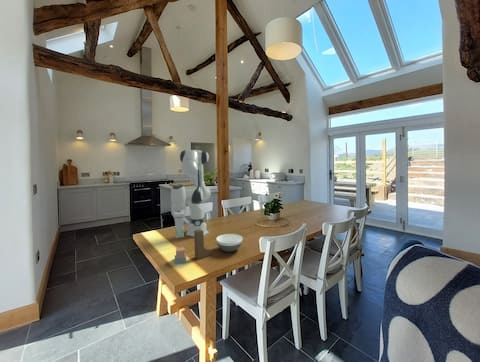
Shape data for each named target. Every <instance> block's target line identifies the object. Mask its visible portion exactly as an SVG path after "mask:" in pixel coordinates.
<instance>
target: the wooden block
mask: <svg viewBox="0 0 480 362" xmlns="http://www.w3.org/2000/svg"><path fill="white" fill-rule="evenodd" d="M204 236H205V235H204V234H203V230H201V229H199V230H195V231H194V238H193V240H194V258H196V259H197V260H200V259H204V258H206V257H208V256H209V257H210V256H211V249H210V248H209V247H206V246H205V241H204V240H205V239H204Z"/></svg>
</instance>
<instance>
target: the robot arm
mask: <svg viewBox="0 0 480 362" xmlns="http://www.w3.org/2000/svg"><path fill="white" fill-rule="evenodd" d="M179 154H180V155H179V159H180V162H181V165H180V168H181V171H182V173H183V174H184V175H186V176H187V177H189V182H190V183H191V184H193V185H194V186H195V187H194V188H186V187H185V185H184V184H174V185H172V186H171V188H170V189H171V190H170V201H171V205H170V206H171V207H170V209H171V212H170V213H171V216H173V219H174V224H175V227H176V230H178V235H181V230H183V227H184V219H185V216H186V214H187V206H188V208H189V216H190V218H189V224H187V231H186V232H185V235H186V236H187V237H192V238H193V237H194V231H195V230H199V229H201V230H203V234H204V236H206V235H208V234H210V233H209V232H210V231H208V230H207V223H206V222H205V216H204V207H202V206H201V205H199V204H200V203H202V202H203V201H206V200H209V199H211V195H212V194H211V193H212V192H211V190H210V188H209V187H207V186H206V183H205V180H204V166H205V165H206V164H207V163H208V162H209V160H210V155H209V153H208V151H206V150H199V149H189V150H188V149H184V150H182V151H181V152H180V153H179Z"/></svg>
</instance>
